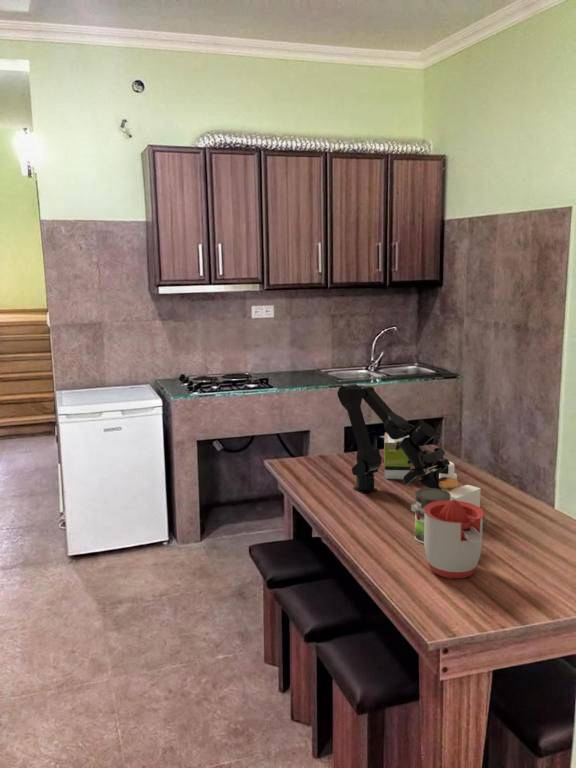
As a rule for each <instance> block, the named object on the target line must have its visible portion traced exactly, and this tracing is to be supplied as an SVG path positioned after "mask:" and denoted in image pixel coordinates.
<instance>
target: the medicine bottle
mask: <svg viewBox="0 0 576 768" xmlns="http://www.w3.org/2000/svg"><path fill="white" fill-rule="evenodd" d="M448 461H449V460H448ZM449 463H450V465H448V466H447V467H446V468H445V469H444V470H443V471H441V472H440V473H439V478H441V477H452V478H455V479H457V480H458V474H457V473H455V463H453V462H452V461H449ZM455 489H458V487H457V488H455Z"/></svg>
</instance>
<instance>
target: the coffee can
mask: <svg viewBox="0 0 576 768" xmlns="http://www.w3.org/2000/svg"><path fill="white" fill-rule="evenodd" d="M414 494H415V495H414V496H415V499H414V501H415V503H414V504H415V512H414V536H413V537H414V538H413V539H414V540H416V542H418V543H419V544H423V545H424V519H425V512H424V507H425V506H426V505H427V504H429V503H431V502H435V501H442V500H450V497H451V495H450V493H448V492H447V491H444V490H441V489H435V488H429V487H428V488H427V487H426V488H421V489H418V490H416V491H415V492H414Z"/></svg>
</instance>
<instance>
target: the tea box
mask: <svg viewBox="0 0 576 768" xmlns="http://www.w3.org/2000/svg"><path fill="white" fill-rule="evenodd" d="M407 437H409V435H408V436H407ZM404 438H406V437H403V438H400V439H397V440H395V439H391V438H390V437H389V435H388V434H387V432H384V445H383V447H384V448H383V449H384V450H383V451H384V452H383V454H384V455H383V456H384V460H383V461H384V466H383V467H384V479H386V480H403V479H404V476H405V475H406V474H407V473H408V472H409V471H410V470H412V467H411V465H412V464H408V463H407V462H408V461H409V459H408V458H407V456H406V455H405V453H404V452H403V450H402V449H399V450H396V445H397V442H398V441H402V440H403V439H404Z"/></svg>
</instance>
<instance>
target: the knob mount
mask: <svg viewBox="0 0 576 768" xmlns="http://www.w3.org/2000/svg"><path fill="white" fill-rule="evenodd" d="M448 493H450V495H451V497H450V500H453V499H454V500H456V501H462V502H467V503H471V504H474V505H476V506H478V507H480V508H481V487H478V486H473V485H471V484H465V485H462V486H460V487H457V489H455V490H453V491H450V492H448ZM410 510H411V512H413V513H415V503H414V504H411V505H410Z"/></svg>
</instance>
